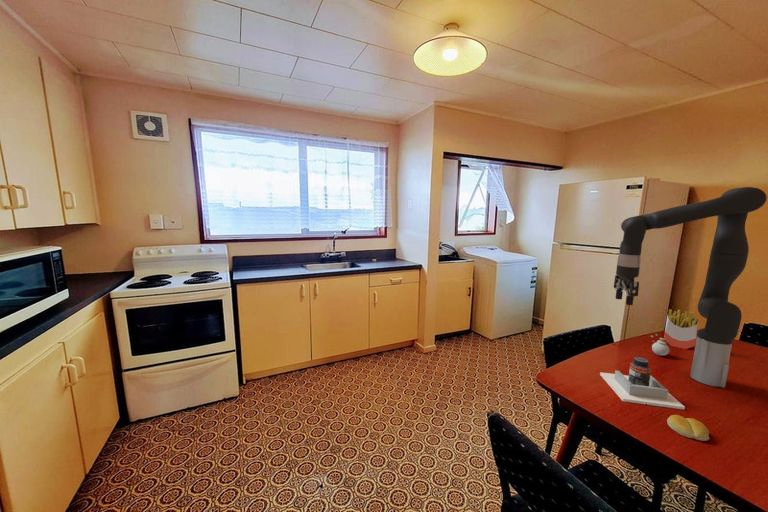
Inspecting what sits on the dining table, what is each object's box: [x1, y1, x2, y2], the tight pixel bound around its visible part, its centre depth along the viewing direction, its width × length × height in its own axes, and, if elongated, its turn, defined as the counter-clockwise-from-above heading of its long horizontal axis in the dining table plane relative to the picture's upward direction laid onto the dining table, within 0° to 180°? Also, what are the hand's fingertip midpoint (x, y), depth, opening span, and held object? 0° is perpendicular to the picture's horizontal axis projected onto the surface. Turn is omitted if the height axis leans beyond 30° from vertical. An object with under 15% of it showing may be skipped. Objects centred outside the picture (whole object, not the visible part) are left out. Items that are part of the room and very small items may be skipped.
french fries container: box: [663, 309, 699, 350], centre depth 147 cm, size 5×11×18 cm, turn 48°
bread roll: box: [666, 414, 710, 442], centre depth 91 cm, size 8×9×4 cm
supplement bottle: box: [628, 356, 652, 386], centre depth 111 cm, size 6×6×11 cm
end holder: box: [599, 369, 686, 411], centre depth 111 cm, size 18×18×4 cm
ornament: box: [650, 333, 670, 356], centre depth 139 cm, size 6×7×10 cm
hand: (623, 301), depth 128 cm, fingers open, 8 cm apart
